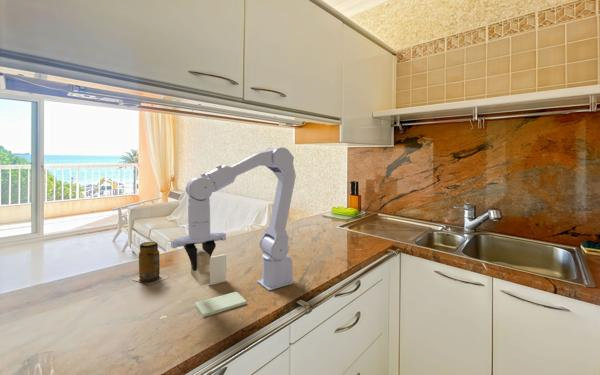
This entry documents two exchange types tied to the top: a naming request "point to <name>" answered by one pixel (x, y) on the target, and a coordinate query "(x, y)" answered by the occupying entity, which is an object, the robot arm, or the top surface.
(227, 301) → the rest board
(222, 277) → the tile
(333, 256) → the top surface
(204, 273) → the tan wooden block
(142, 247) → the condiment
